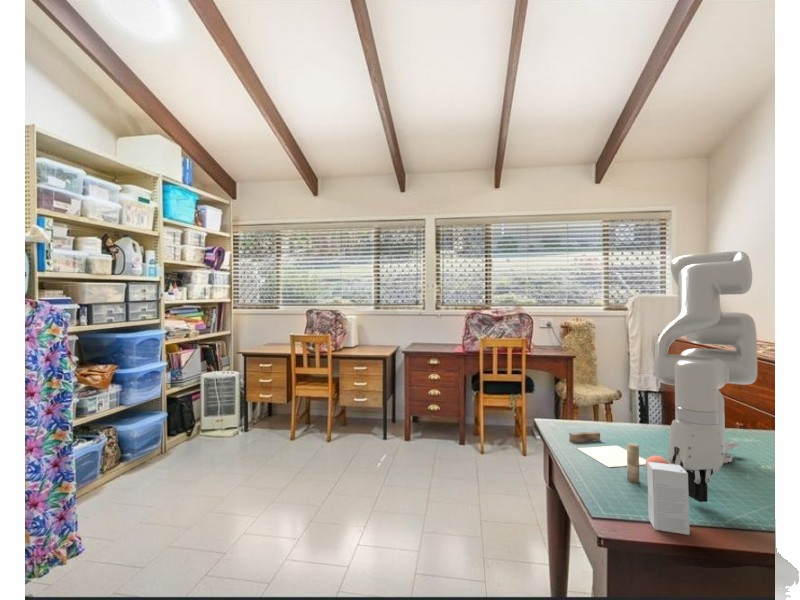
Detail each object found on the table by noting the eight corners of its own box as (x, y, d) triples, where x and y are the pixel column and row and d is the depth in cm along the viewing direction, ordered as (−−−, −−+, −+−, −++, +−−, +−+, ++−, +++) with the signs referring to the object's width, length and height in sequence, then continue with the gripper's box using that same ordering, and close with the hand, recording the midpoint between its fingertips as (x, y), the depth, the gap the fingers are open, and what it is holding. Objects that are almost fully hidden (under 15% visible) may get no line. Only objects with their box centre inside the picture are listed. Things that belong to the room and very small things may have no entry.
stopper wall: (596, 439, 126) (596, 431, 126) (600, 440, 125) (600, 433, 125) (569, 440, 124) (569, 433, 125) (572, 442, 123) (572, 434, 123)
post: (633, 478, 97) (633, 442, 98) (641, 482, 95) (641, 446, 95) (624, 478, 97) (624, 443, 97) (632, 483, 94) (632, 447, 95)
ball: (656, 464, 101) (663, 450, 99) (671, 482, 97) (679, 468, 94) (637, 465, 101) (644, 451, 98) (652, 484, 96) (659, 469, 93)
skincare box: (681, 524, 77) (680, 464, 77) (690, 536, 73) (689, 473, 73) (647, 518, 79) (646, 460, 79) (653, 530, 75) (652, 469, 75)
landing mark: (617, 446, 120) (617, 445, 120) (653, 464, 106) (653, 463, 106) (576, 448, 117) (576, 448, 117) (608, 467, 104) (608, 467, 104)
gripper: (708, 409, 89) (709, 488, 89) (652, 412, 87) (654, 493, 86) (742, 419, 82) (743, 504, 81) (682, 422, 79) (683, 510, 79)
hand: (697, 498), depth 84 cm, fingers closed
